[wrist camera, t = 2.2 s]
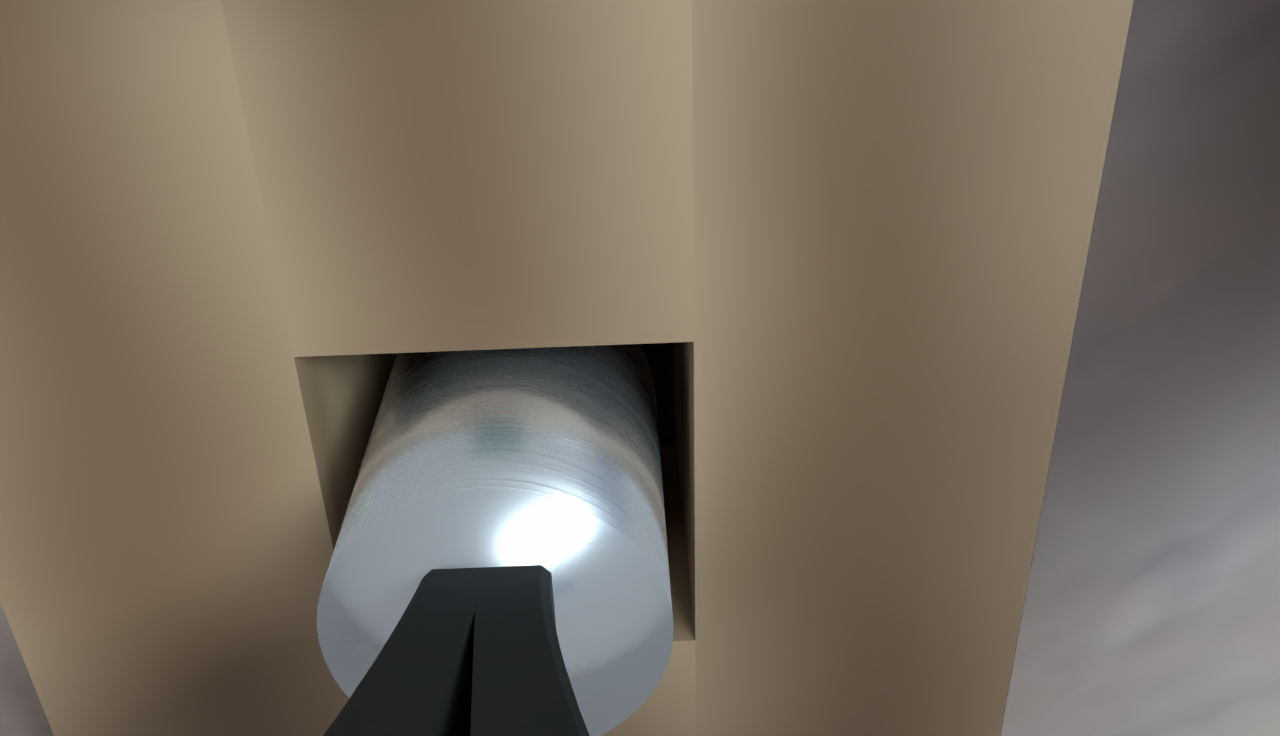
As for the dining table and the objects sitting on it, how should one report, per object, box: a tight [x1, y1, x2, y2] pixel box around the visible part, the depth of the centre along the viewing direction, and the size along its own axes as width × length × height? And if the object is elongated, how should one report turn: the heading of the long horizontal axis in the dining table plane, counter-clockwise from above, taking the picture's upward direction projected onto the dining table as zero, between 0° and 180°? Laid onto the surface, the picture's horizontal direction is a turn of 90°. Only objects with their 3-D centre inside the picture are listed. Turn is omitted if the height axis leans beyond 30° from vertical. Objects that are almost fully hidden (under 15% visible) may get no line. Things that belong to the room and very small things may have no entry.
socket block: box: [0, 0, 1134, 736], centre depth 14 cm, size 14×22×5 cm, turn 2°
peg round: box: [317, 344, 674, 736], centre depth 15 cm, size 4×4×5 cm
